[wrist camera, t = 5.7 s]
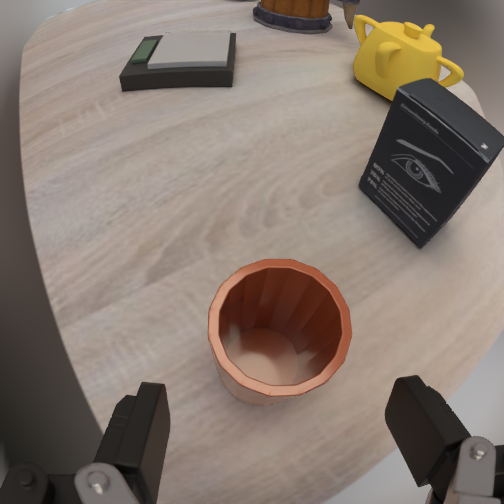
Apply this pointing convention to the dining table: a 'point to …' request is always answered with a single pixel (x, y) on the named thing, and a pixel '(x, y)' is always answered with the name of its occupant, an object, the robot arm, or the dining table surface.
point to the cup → (277, 331)
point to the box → (428, 158)
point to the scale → (181, 61)
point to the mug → (301, 15)
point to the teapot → (398, 56)
